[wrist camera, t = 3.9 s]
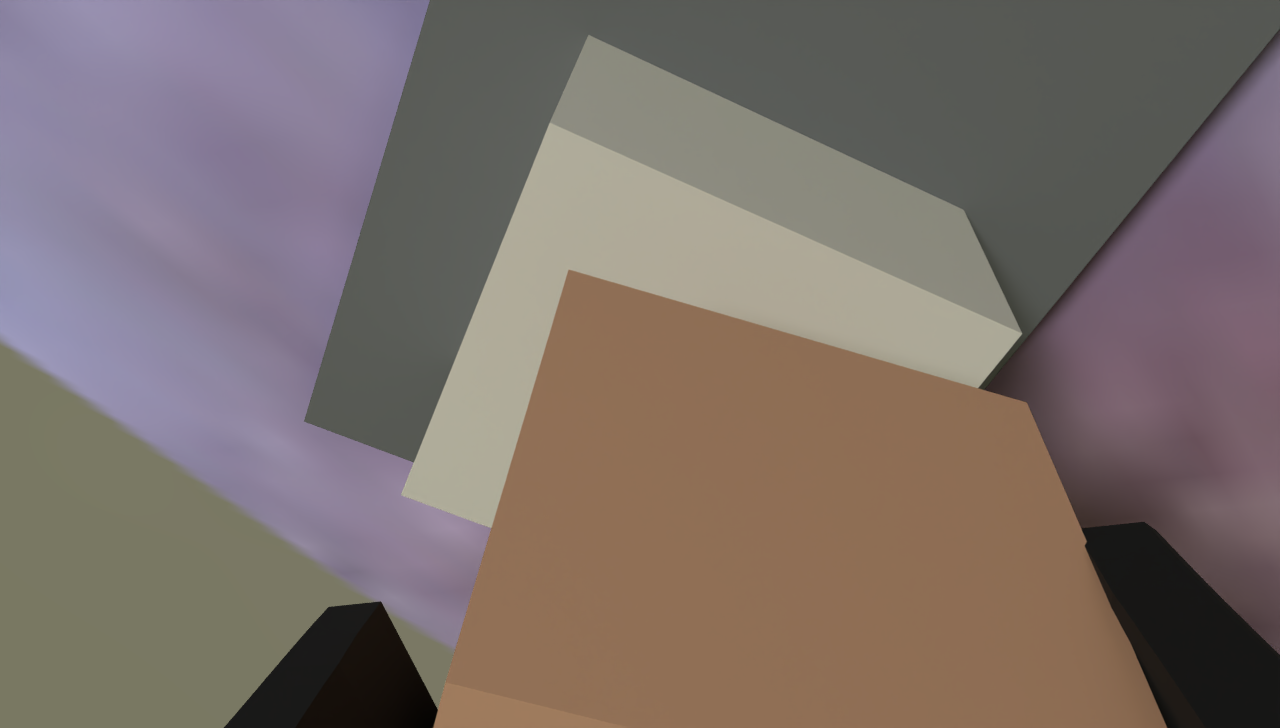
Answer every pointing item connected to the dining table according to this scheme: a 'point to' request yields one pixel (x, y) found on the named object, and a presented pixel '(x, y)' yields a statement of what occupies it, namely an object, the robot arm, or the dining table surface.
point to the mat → (798, 99)
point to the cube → (777, 544)
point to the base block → (703, 255)
